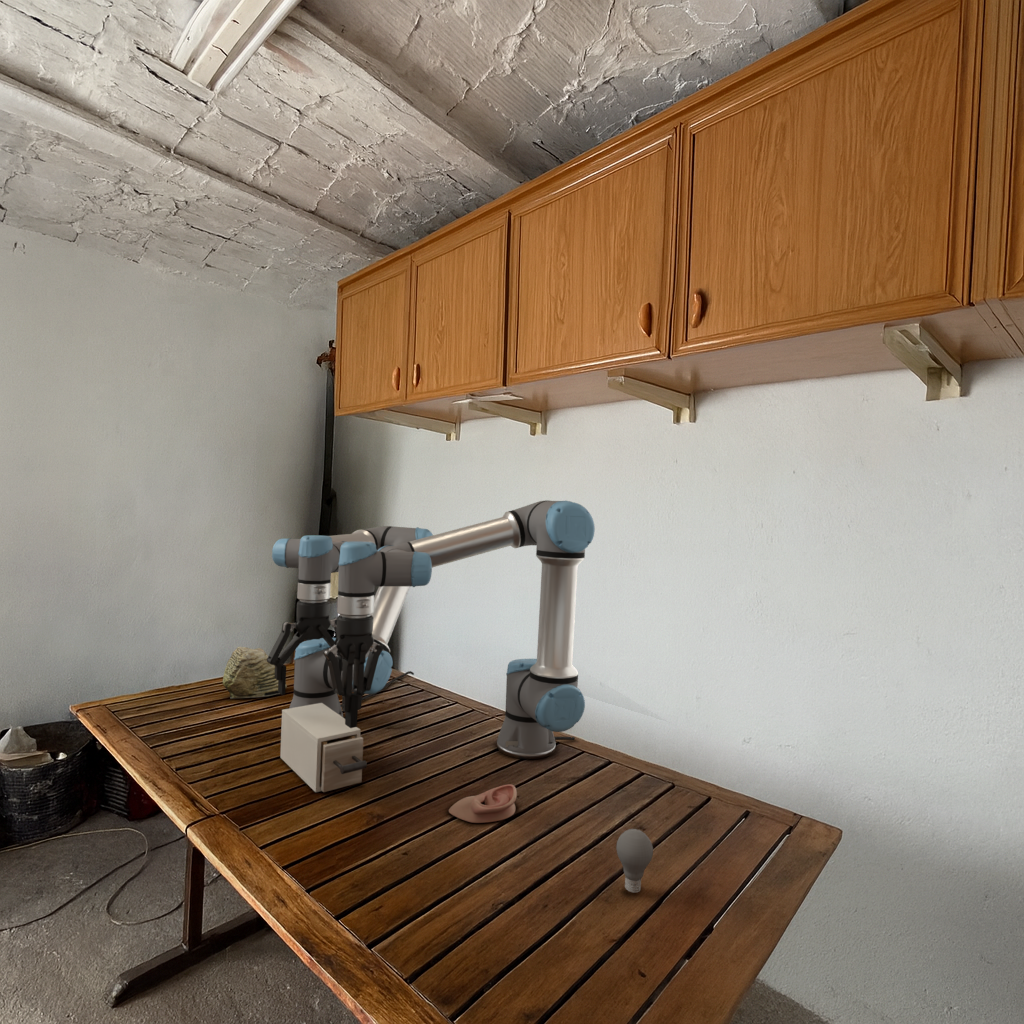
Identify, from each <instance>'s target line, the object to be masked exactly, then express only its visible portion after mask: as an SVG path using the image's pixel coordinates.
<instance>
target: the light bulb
mask: <svg viewBox="0 0 1024 1024" xmlns="http://www.w3.org/2000/svg"><path fill="white" fill-rule="evenodd" d="M615 849H616V854H617V857H618V859H619V861H620V863H621V865H622V867H623V873H624V874H623V875H624V876H625V878H624V888H625V890H627V891H628V892H630V893H634V894H635V893H639V892H640V891H641V889H642V887H641V886H642V879H643V877H644V875H645V871H646V868H647V867H648V866H649V864H650V863H651V861H652V859H653V855H654V847H653V843H652V841H651V838H649V836H648V835H647V834H646V833H645V832H643V831H642V830H641V829H636V828H629V829H627V830H625V831H623V832H622V833H621V834H620V835H619V837H618V839H617V841H616V847H615Z"/></svg>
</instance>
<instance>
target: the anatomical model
mask: <svg viewBox="0 0 1024 1024" xmlns="http://www.w3.org/2000/svg"><path fill="white" fill-rule="evenodd" d="M517 797H518V793H517V788H516V786H515V785H514V784H510V783H509V784H503V785H500V786H497V787H493V788H491V789H488V790H486V791H483V792H482V793H479V794H477V795H471V796H470V795H469V796H466V797H463V798H461V799H459V800H458V801H456V802H455V803H453V804H452V806H450V807H449V809H448V813H449V814H450V815H452V816H453V817H455V818H457V819H459V820H462V821H465V822H468V823H471V824H472V823H473V824H483V823H484V824H485V823H492V822H497V821H503V820H506V819H508V818H511V817H512V816H514V815H515V813H516V804H515V802H516V800H517Z"/></svg>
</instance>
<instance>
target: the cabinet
mask: <svg viewBox="0 0 1024 1024" xmlns="http://www.w3.org/2000/svg"><path fill="white" fill-rule="evenodd" d="M280 727H281V729H280V757H279V758H280V759H281V760H282V761H283V762H284V763H285V764H286V765H287V766H288V767H289V768H290V769H291V770H292V771H293V772H294V773H295V775H297V776H298V777H299V778H300V779H301V780H302V781H303V782H304V783H305V784H306V785H308V786H309V788H310V789H312V791H313V792H314V793H319V792H323V791H322V790H321V787H322V784H321V783H320V763H321V742H323V741H327V740H332V739H337V738H341V737H346V736H351V735H354V736H355V738H357V737H361V729H360V728H359V727H358V726H357V727H354V728H349V727H348V726H347V725H345V717H344V716H343V717H342V716H340V715H339V714H337V713H336V712H334V711H333V710H332V709H330V708H329V707H327V706H326V705H324V704H323V703H318V704H312V705H306V706H301V707H295V708H285V709H281V726H280Z"/></svg>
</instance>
